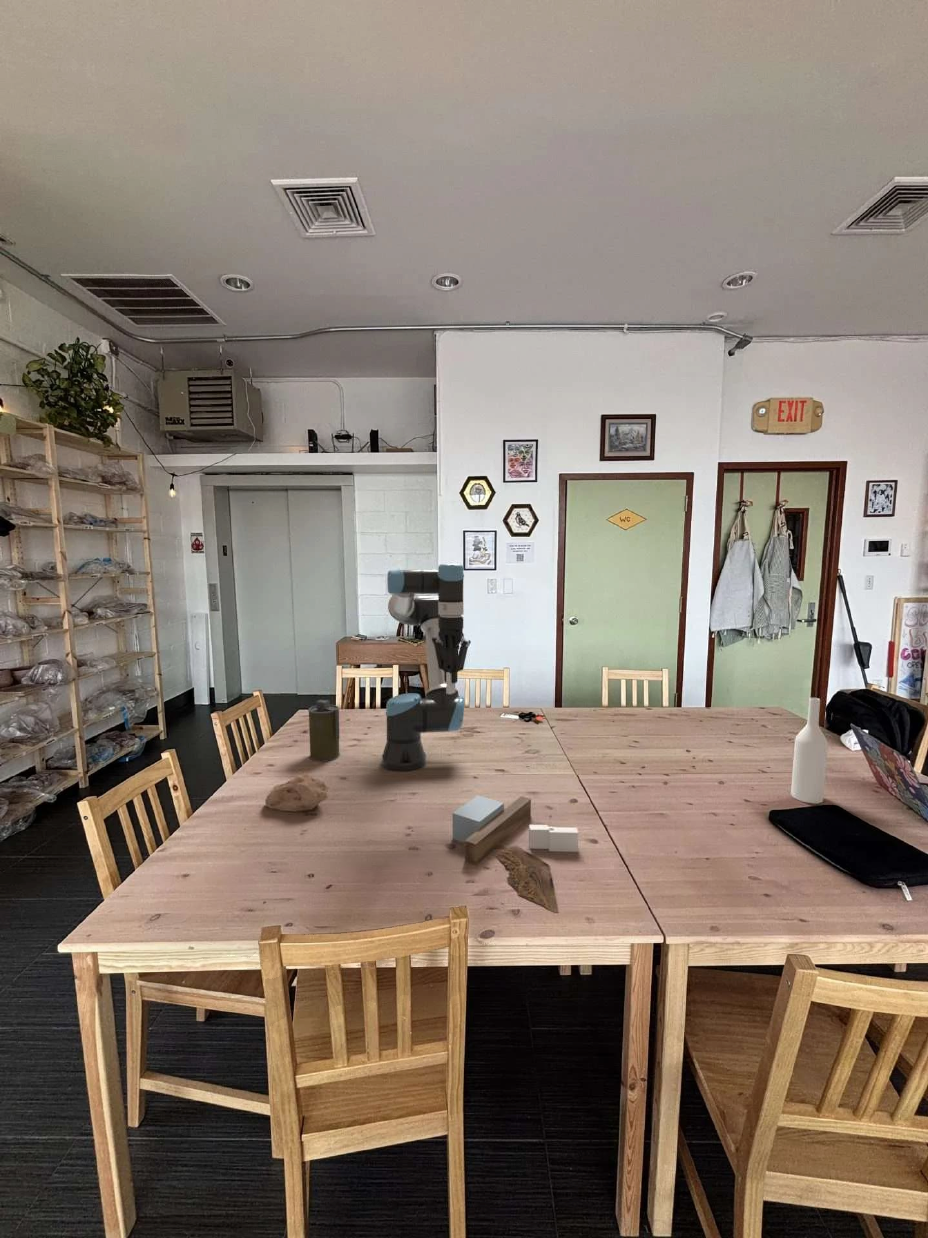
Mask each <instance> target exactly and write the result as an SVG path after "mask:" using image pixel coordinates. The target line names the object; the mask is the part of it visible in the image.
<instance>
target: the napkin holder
mask: <svg viewBox="0 0 928 1238" xmlns="http://www.w3.org/2000/svg"><path fill="white" fill-rule="evenodd" d="M528 826H529V827H528V844H529V845H528V846H529V849H544V850H545V849H548V851H549V852H575V853H576V852H578V851H579V831H578V828H577V827H557V826H556V827H554V826H549V825H548V824H529V825H528Z"/></svg>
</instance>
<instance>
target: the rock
mask: <svg viewBox="0 0 928 1238" xmlns="http://www.w3.org/2000/svg"><path fill="white" fill-rule="evenodd" d="M329 790H330V787H329V786H328V784H327V783H326V782H325V781H324V780H321V779H320V778H319V777H318V778H315V777H313V776H311V775H310V774H309V773H301V774H298V775H297V776H295V778H293V779H291V780H289V781H286V782H283V783H280V784H276V785H275V786H273V788H272V789H271V790H270V792H269V793H268V794H267V795H266V798H265V806H266V807H267V808H269V809H272V810H277V811H281V812H282V811H283V812H302V811H303V812H304V811H310V810H313V809H314V808H315V807H317V806H318V805H319V804H321V803H322V802H324V801H325V800H326V799H328V792H329Z"/></svg>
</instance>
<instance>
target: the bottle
mask: <svg viewBox="0 0 928 1238" xmlns="http://www.w3.org/2000/svg"><path fill="white" fill-rule="evenodd" d="M808 701H809V702H808V711H807V722H806V725H804V727H803V728H802V729H801V730H799V733H798V734H797V735H795V736H796V737H795V739H794V750H793V761H792V762H793V763H792V776H791V788H790V789H791V790H790V796H792V798H793V799H796V800H797V801H799V802H803V803H808V804H815V805H816V804H821V803H823V802H824V794H825V783H826V771H827V770H826V769H827V761H828V760H827V759H828V747H829V743H828V740H827V738H826V737H825V735H824V733H823V731H822V730H821V728H820V726H819V725H820V724H819V722H820V721H819V719H820V707H821V699H820V698H818V697H809V700H808Z"/></svg>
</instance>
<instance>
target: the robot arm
mask: <svg viewBox="0 0 928 1238" xmlns="http://www.w3.org/2000/svg"><path fill="white" fill-rule="evenodd" d="M464 579H465V574H464V566H463V565H462V564H460V563H440V564H439V565H438V569H400V568H399V569H390V570H388V572H387V580H386V581H387V582H386V583H387V593H388V594H390V595H391V596H390V598H389V601H388V604H387V610H388V613H389V615H390V616H391V617H392V618H393V619H394V620H395V621H397V622H399V623H400V624H403V625H405V626H406V625H407V626H420V630H421V632H423V633H424V634H425V647H426V659H427V661H426V662H427V673H428V691H426V692H425V698H422V696H421V695H420V694H419V693H416V692H415V693H412V692H411V693H409V692H407V693H401V694H397V695H395V696H392V697H391V698H390V699H388V700H387V702H386V705H385V706H386V711H385V716H386V743H385V746H384V750H383V752H382V755H381V765H382V766H383V767H384V768H385V769H388V770H390V771H398V772H399V771H400V772H403V771H405V772H406V771H413V770H417V769H419V768H420V769H421V768H422V767H424V766H425V765H426V764H427V754H426V752H425V749H424V746H423V743H422V739H421V738H422V735H421V734H423V733H444V732H445V733H446V732H447V733H449V732H454V731H455V732H456V731H460V730H461V728H462V726H463V723H464V713H465V698H464V696H461V695H459V690H458V689H456V683H458V673H459V672H462V671H463V670H464V667H465V663H466V658H467V654H468V653H467V652H468V648H469V646H470V645H471V643H472V641H471V640H470V639H466V638H465V634H464V632H463V630H464V617H463V615H464V610H465V609H464Z"/></svg>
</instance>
